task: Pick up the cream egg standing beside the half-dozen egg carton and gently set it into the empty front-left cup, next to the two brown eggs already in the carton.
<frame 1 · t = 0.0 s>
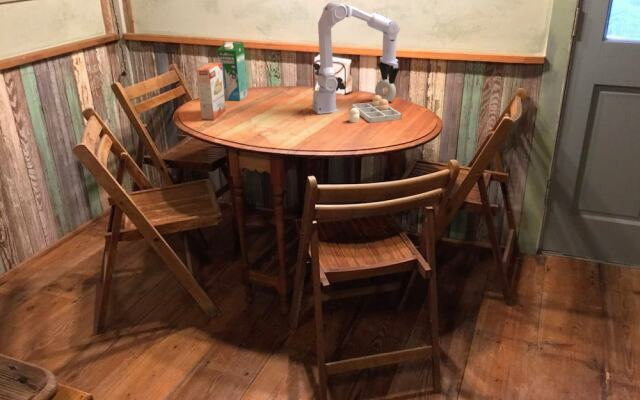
hand: (388, 81, 238), 10 cm above the table, tool pointing down, fingers open, 7 cm apart
brown egg 1: (383, 112, 229), resting on egg carton
cracker box: (214, 115, 231), on the table
cream egg: (354, 122, 220), on the table
egg carton: (375, 114, 228), on the table
donut: (384, 102, 244), on the table, touching gripper
milk carton: (235, 98, 255), on the table
brown egg 2: (376, 108, 234), resting on egg carton
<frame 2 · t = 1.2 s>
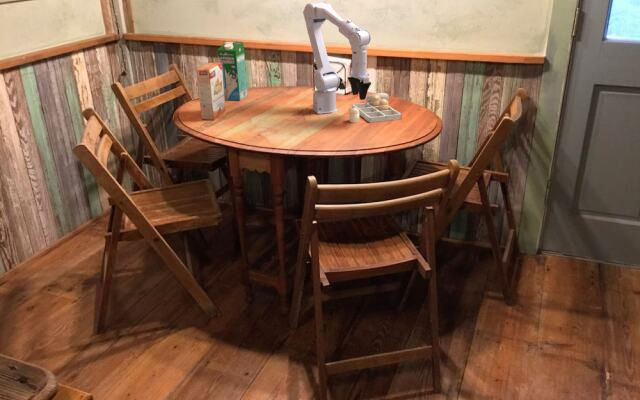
hand: (358, 97, 218), 10 cm above the table, tool pointing down, fingers open, 7 cm apart
donut: (383, 98, 243), point 2 cm above the table, touching brown egg 2, egg carton
brown egg 2: (376, 108, 234), point 1 cm above the table, tilted 7°, touching donut, egg carton
everything else where it was.
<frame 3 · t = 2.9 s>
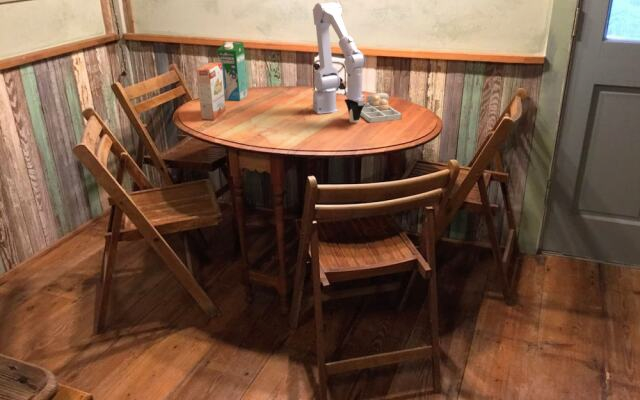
hand: (354, 118, 219), 2 cm above the table, tool pointing down, fingers closed on cream egg, 4 cm apart
cream egg: (354, 122, 220), on the table, touching gripper
everything else where it was.
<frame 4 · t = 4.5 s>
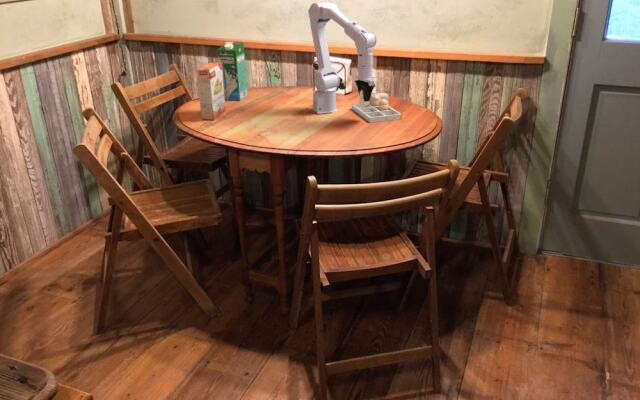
hand: (364, 99, 216), 9 cm above the table, tool pointing down, fingers closed on cream egg, 4 cm apart
cream egg: (364, 103, 217), point 7 cm above the table, touching gripper
everything else where it was.
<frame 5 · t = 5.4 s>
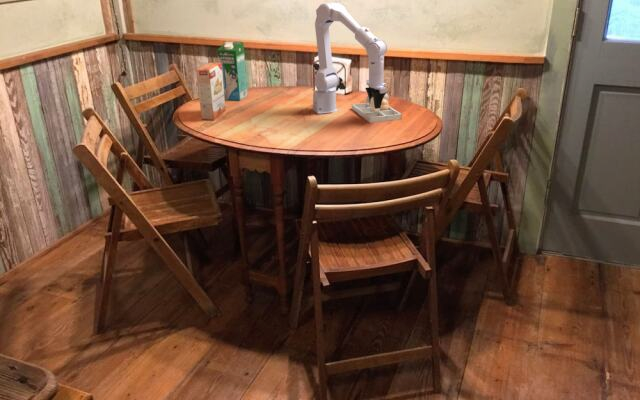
hand: (375, 106, 219), 6 cm above the table, tool pointing down, fingers closed on cream egg, 4 cm apart
cream egg: (375, 110, 220), point 4 cm above the table, touching gripper
everything else where it was.
when the fingers open (4 cm above the table, at t = 6.2 s): cream egg drops 1 cm, resting on egg carton.
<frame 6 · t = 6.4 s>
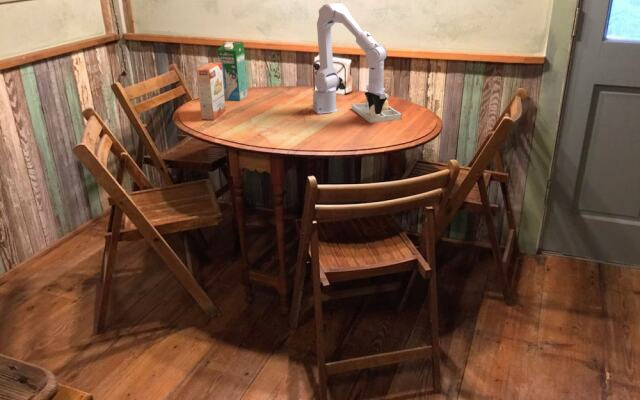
hand: (375, 111, 220), 4 cm above the table, tool pointing down, fingers open, 6 cm apart
cream egg: (374, 119, 221), point 1 cm above the table, touching egg carton
everything else where it was.
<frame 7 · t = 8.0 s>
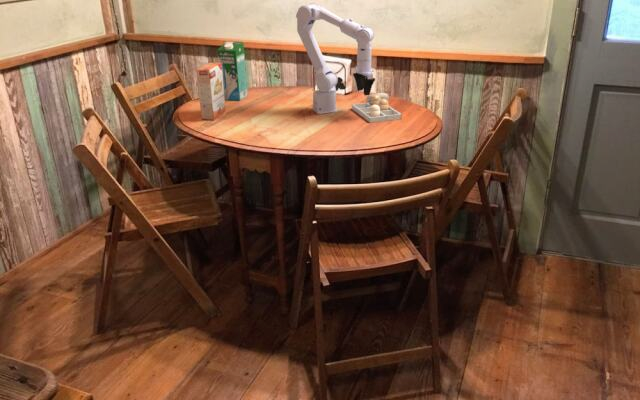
hand: (363, 92, 225), 9 cm above the table, tool pointing down, fingers open, 7 cm apart
nothing on the table moved.
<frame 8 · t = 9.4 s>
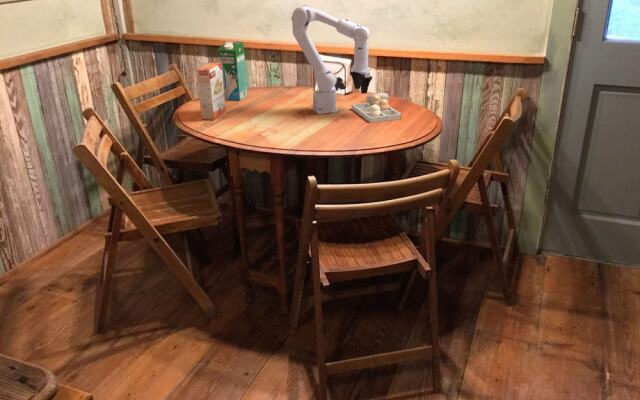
hand: (360, 91, 227), 9 cm above the table, tool pointing down, fingers open, 7 cm apart
nothing on the table moved.
at the end: cream egg 0.0 cm from the target spot on the egg carton, point 0.5 cm above the egg carton's base; cream egg tilted 0°; the gripper is holding nothing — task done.
